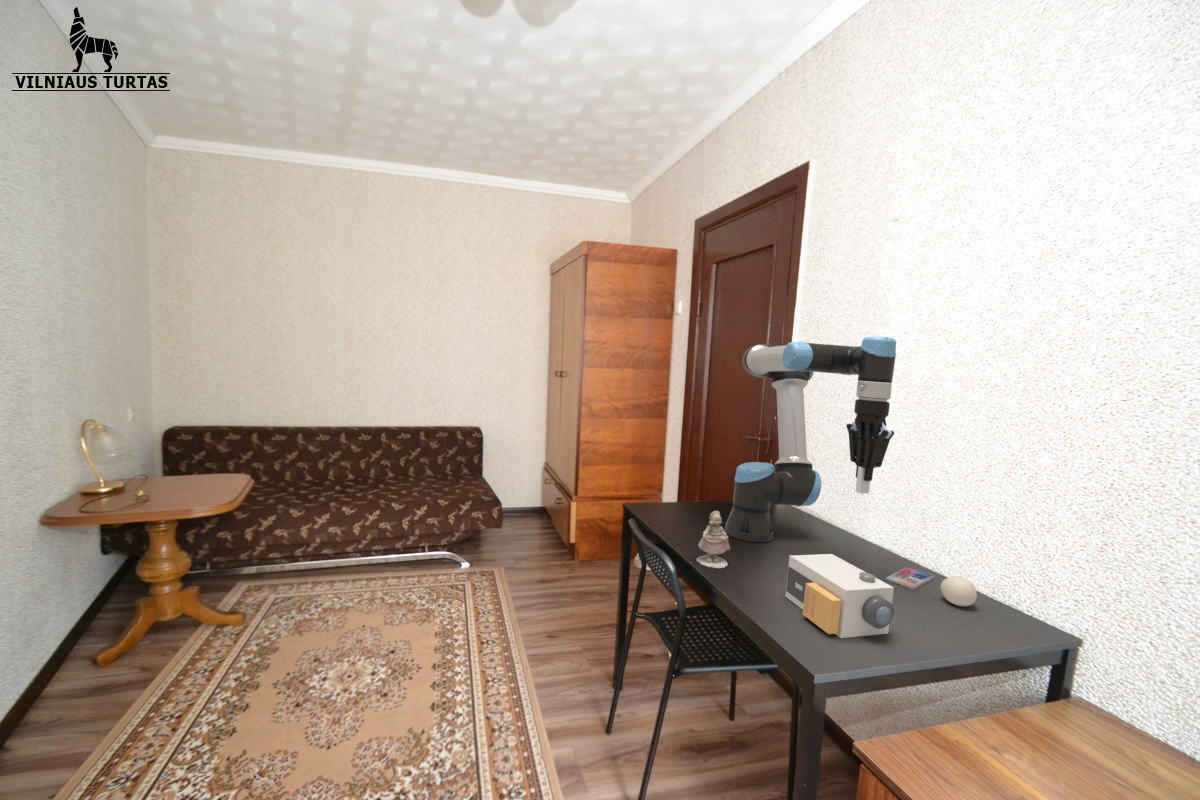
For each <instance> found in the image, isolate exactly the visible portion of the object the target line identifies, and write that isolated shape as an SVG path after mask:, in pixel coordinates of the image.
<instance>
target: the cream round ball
mask: <svg viewBox="0 0 1200 800" xmlns="http://www.w3.org/2000/svg"><path fill="white" fill-rule="evenodd" d="M940 590H941V592H942V595H943V596H944V598H945V599H946V600H947V602H948V603H951V604H953V605H955V606H958V607H969V606H971V605H973V604H974V603H975V602H976V600H977V597H978V593H977V592H978V591H977V588H976V587H975V585H974V584H973V583H972V582H971V581H970V580H969V579H967V578H964V577H962V576H949V577H947V578H944V579H943V580H942V581H941V583H940Z"/></svg>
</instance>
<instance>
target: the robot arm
mask: <svg viewBox="0 0 1200 800" xmlns="http://www.w3.org/2000/svg"><path fill="white" fill-rule="evenodd" d="M896 348H897V341H896V339H895V338H893V337H888V336H887V337H886V336H865V337H864V338H863V339H862V341H861V345H860V346H859V345H858V346H855V345H854V346H850V345H841V344H840V345H839V344H829V343H828V344H825V343H816V342H815V343H813V342H805V341H791V342H788V343H787V344H786V345H778V344H775V345H774V344H768V343H767V344H762V343H761V344H755V345H752V346H750V347H748V348H747V349H746V351H745V352H744V354H743V356H742V366H743V368H744V370H745V371H746V372H747V373H748V374H750V375H752V376H754V377H756V378H760V379H768V380H771V387H772V388H774V389H775V390H776V407H777V408H776V410H777V411H776V413H777V431H778V433H777V435H778V459H777V461H775V463H774V464H772V463H769V462H761V461H750V462H749V461H748V462H744V463H741V464H739V465H738V466H737V467H736V470H735V476H734V488H733V489H734V490H733V496H732V497H733V499H732V508H731V510H730V512H729V515H728V517H727V519H726V522H725V524H724V525H725V526H724V532H725V533H726V534H727V536H730V537H732V538H735V539H738V540H741V541H745V542H751V543H769V542H772V540H773V539H774V529H773V524H772V520H771V515H770V511H771V505H776V506H777V505H779V506H794V507H802V506H803V507H808V506H812V505H814V504H815V503H816V502H817V500H818V499H819V496H820V494H821V490H822V478H821V476H820V473H819V472H818V471H816V470H814V469H813V462H811V461H810V460H809V459H808V453H807V452H808V451H807V435H806V434H807V433H806V432H807V431H806V417H805V415H806V414H805V413H806V412H805V399H804V398H805V397H804V396H805V395H804V394H805V393H804V389H805V388H806V387H807V385H808V384H809V381H810V380H811V379H812V378H813V376H814V373H827V374H839V375H846V376H851V375H855V376H856V375H857V385H856V393H855V394H856V395H855V396H856V397H857V398H856V400H855V403H854V413H855V414H856V417H855V419H854V421H853V422H852V423H847V424H846V425H845V426H846V430H847V432H848V441H849V442H848V443H849V457H850V462H851V463H854V464H855V466H856V468H855V470H856V471H855V478H856V484H855V492H856V493H858V494H870V493H869V492H870V485H871V482H872V480H873V475H874V469H875V468H881V467H882V465H883V462H884V459H885V455H886V454H887V453H886V452H887V450H888V447H889V444H890V441H891V439H892V438H893V437H894V435H895V431H894V430H890V429H889V428H888V426H887V422H886V418H887V417H888V416H889V413H890V405H891V404H890V402H889V401H888V400H890V399H891V397H892V396H891V395H892V385H893V377H894V371H895V370H894V369H895V362H896V356H897V353H896V351H897V349H896Z"/></svg>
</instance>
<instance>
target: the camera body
mask: <svg viewBox="0 0 1200 800" xmlns="http://www.w3.org/2000/svg"><path fill="white" fill-rule="evenodd" d="M786 576H787V577H786V585H785V598H787V599H788V600H789V601H791V602H792V603H793V604H795V606H798V608H800V609H801V610H803V605H804V596H805V587H806V583H816V584H817V585H819V586H820V587H822V588H823V589H825V590H826V591H828V592H830V593H831V594H833V595H834V596H836V597H837V598H839V599H840V600H841V608H840V617H839V626H838V633H837V634H835V635H836V636H837V637H839V638H840V639H846V638H847V639H848V638H856V637H857V638H858V637H866V636H878V635H879V636H880V635H886V634H887V635H888V634H889V631H890V623H891V622H892V620H893V617H894V606H893V597H894V589H895V588H894V586H892V585H890V584H888V583H887V582H884V581H883V580H881V579H879V578H877V577H876V576H875V574H872V573H869V572H866V571H864V570H863V569H860V568H859V567H858V566H855V565H853V564H851V563H850V562H847V561H846V560H844V559H842V558H840V557H838V556H837V555H834V554H833V553H820V554H818V553H817V554H799V555H795V554H794V555H789V556H788V569H787V575H786Z"/></svg>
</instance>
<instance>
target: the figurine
mask: <svg viewBox="0 0 1200 800" xmlns="http://www.w3.org/2000/svg"><path fill="white" fill-rule="evenodd" d="M708 523H709V524H708V525H707V526H706V528H705V530H704V531H702V537H701V538H700V540H699V542H698V547H699V550H701V551H702V552H704V553H707V554H705V555H699V556H698V557H697V558H696V562H698V563H699V564H700V565H701V566H702V565H703V566H706V567H708V568H713V569H722V568H726V567H728V564H729V563H728V562H727V560H726V559H724V558H722V557H720V556H717V555H721V554H724V553H725V552H726V551H730V550H731V547H730V546H731V545H730V543H729V535H728V534H727V533H726V532H725V529H724V527H723V526H721V524H723V521H722V516H721V513H720V511H719V510H714V511H712V512H711V513H710V515H709V521H708ZM689 563H690V564H692V562H689ZM725 566H726V567H725Z"/></svg>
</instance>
